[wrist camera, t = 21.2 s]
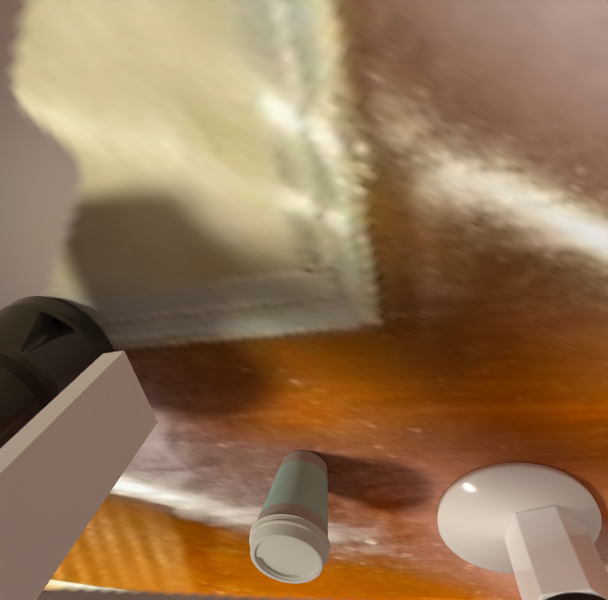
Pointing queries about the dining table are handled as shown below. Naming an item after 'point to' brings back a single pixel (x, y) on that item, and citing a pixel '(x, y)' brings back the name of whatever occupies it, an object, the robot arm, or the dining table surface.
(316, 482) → the coffee cup
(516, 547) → the jar
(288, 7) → the dining table surface
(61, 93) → the dining table surface
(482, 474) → the saucer
